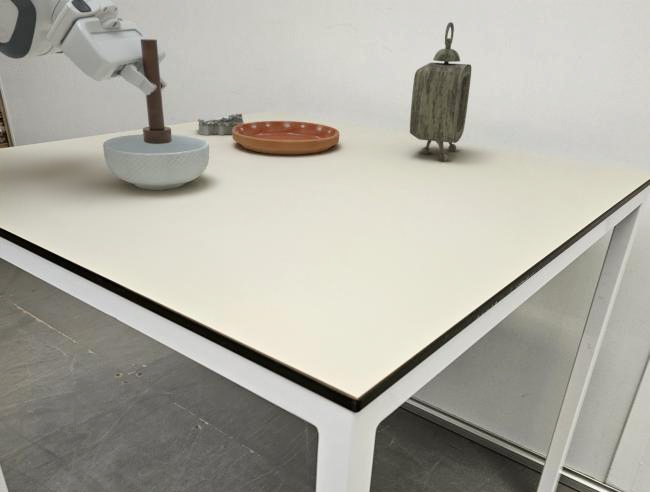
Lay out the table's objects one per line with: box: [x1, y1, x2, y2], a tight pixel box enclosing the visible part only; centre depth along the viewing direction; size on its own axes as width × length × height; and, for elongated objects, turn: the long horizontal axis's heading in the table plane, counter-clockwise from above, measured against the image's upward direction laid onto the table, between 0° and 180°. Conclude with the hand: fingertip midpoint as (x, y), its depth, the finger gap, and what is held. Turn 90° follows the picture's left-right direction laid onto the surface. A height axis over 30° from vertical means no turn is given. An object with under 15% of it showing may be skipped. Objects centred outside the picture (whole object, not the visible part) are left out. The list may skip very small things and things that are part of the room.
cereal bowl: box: [102, 133, 210, 191], centre depth 99 cm, size 17×17×7 cm
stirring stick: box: [141, 38, 172, 144], centre depth 95 cm, size 4×4×15 cm
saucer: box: [231, 120, 340, 156], centre depth 130 cm, size 23×23×4 cm
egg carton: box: [197, 113, 245, 136], centre depth 141 cm, size 11×8×4 cm
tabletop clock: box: [409, 21, 472, 162], centre depth 120 cm, size 14×9×25 cm, turn 160°
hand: (157, 90), depth 94 cm, fingers closed on stirring stick, 2 cm apart
